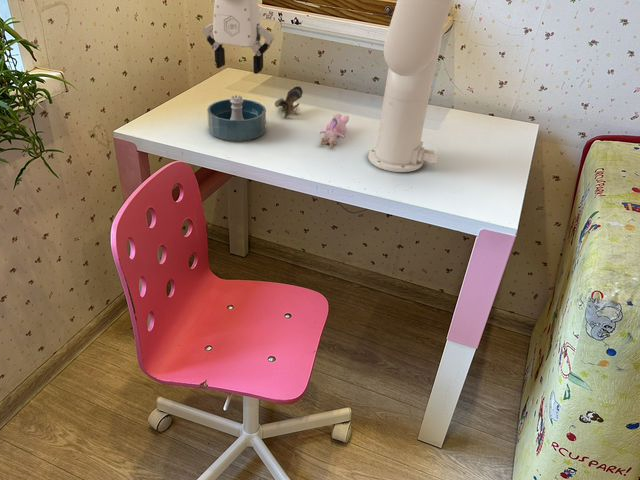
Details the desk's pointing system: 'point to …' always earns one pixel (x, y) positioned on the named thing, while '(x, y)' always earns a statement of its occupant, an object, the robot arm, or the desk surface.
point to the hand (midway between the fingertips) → (239, 69)
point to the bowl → (236, 129)
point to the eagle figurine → (290, 100)
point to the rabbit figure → (334, 129)
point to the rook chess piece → (236, 108)
